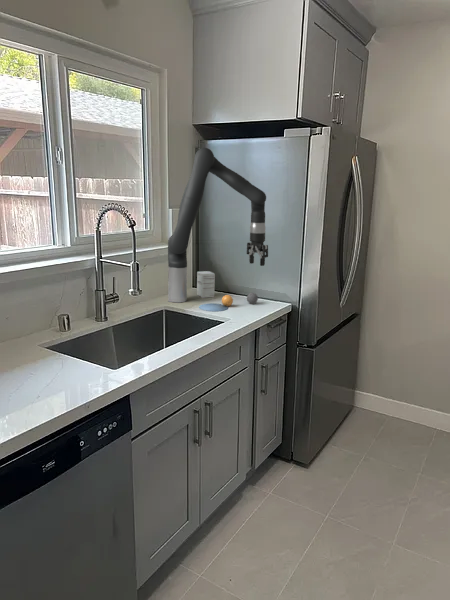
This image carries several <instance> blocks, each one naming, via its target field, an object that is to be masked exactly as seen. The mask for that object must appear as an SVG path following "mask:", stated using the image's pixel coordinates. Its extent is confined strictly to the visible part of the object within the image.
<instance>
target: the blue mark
mask: <svg viewBox="0 0 450 600" xmlns="http://www.w3.org/2000/svg"><path fill="white" fill-rule="evenodd" d="M198 309H199V310H201V309H202V310H201V311H205V310H206V312H224V311H226V310H229V306H224V305H223V304H222V303H203V304H201V305H199V306H198Z"/></svg>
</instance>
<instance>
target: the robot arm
mask: <svg viewBox="0 0 450 600" xmlns="http://www.w3.org/2000/svg"><path fill="white" fill-rule="evenodd" d="M193 160H194V161H193V164H192V170H191V175H190V177H189V179H188V182H187V184H186V187H185V189H184V192H183V195H182V197H181V201H180V205H179V210H178V215H177V223H176V227H175V229H174V231H173V234H171V236H169V238H168V242H167V263H168V266H167V268H168V271H167V272H168V280H167V281H168V282H167V283H168V285H167V286H168V287H167V288H168V290H167V294H168V296H167V298H168V301H167V302H169V303H170V302H172V303H184V302H187V300H188V297H187V296H188V295H187V294H188V257H187V252H188V251H187V249H188V247H189V241H190V236H191V232H192V228H193V225H194V223H195V221H196V218H197V217H198V213H199V210H200V208H201V207H200V206H201V204H202V200H203V196H204V191H205V186H206V180H207V177H208V175H209V173H210V174H212V175H214V176H215V177H217V178H219V179H220V180H221V181H222V182H224V183H225V184H227V186H229V187H230V188H232V189H233V190H234V191H236V192H237V193H239V194H240V195H242V196H244V197H246V198H247V200H249V201H250V207H251V208H250V210H251V211H250V225H249V242H247V243H246V255H248V256H249V257H248V258H249V259H248V260H249V264H250V265H251V264H254V263H255V256H254V255H255V253H257V254H258V255H259V261H260V262H259V265H260V266H261V267H263V266H265V263H266V258H268V257H269V244H264V243H265V241H266V212H265V208H266V201H267V193H266V192H264V191H263V190H261V189H260V188H258V187H257V186H255V185H254V184H252V183H251V182H250V181H249V180H247V179H246V178H245V177H244V176H242V175H240V174H239V173H238V172H235V170H232V169H231V168H229V167H227V166H226V165H225V164H223V163H222V162H220V161H219V160H218V159H217V157H216V156H215V154H214V153H213V151H212V150H211V149H210V148H207V147H201V148H200V149H197V151H196V152H195V155H194V159H193Z"/></svg>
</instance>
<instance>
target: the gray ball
mask: <svg viewBox="0 0 450 600" xmlns="http://www.w3.org/2000/svg"><path fill="white" fill-rule="evenodd" d="M258 298H259V297H258V294H256V293H255V292H249V293H248V294H247V296H246V301H247V302H248V303H249V304H251V305H253V304H256V303H257V302H258Z"/></svg>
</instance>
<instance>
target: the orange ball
mask: <svg viewBox="0 0 450 600" xmlns="http://www.w3.org/2000/svg"><path fill="white" fill-rule="evenodd" d="M233 301H234V298H233V296H231V295H229V294H226V295H223V296H222V298H221V304H222V305H224V306H227V307H230V306H232V305H233V303H234V302H233Z"/></svg>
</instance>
